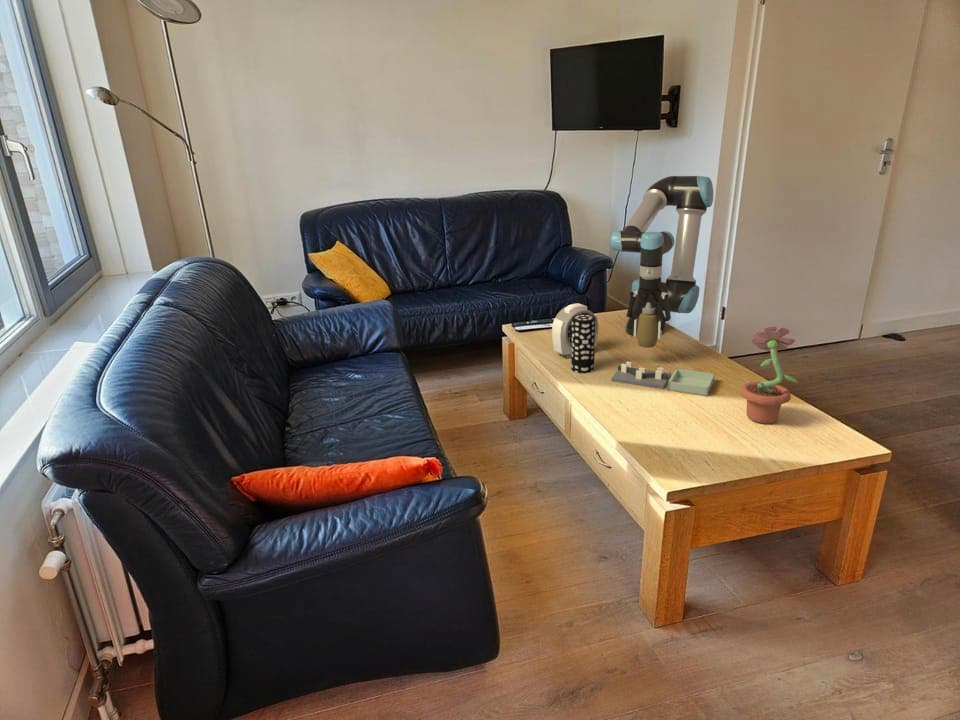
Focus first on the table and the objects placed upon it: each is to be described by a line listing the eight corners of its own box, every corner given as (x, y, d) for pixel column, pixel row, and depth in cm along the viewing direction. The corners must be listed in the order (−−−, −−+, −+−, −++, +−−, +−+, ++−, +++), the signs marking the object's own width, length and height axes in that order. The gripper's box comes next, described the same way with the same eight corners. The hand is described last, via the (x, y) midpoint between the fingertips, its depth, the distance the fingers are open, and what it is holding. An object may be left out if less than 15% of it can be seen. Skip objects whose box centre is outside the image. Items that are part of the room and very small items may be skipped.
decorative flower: (790, 412, 192) (804, 319, 182) (791, 432, 181) (806, 334, 170) (738, 405, 198) (749, 315, 187) (735, 424, 187) (746, 329, 176)
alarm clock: (562, 361, 240) (562, 311, 233) (550, 355, 247) (549, 305, 240) (600, 352, 248) (601, 303, 240) (587, 346, 255) (588, 298, 247)
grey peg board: (620, 369, 231) (621, 359, 229) (670, 376, 222) (671, 365, 221) (611, 381, 221) (611, 370, 219) (663, 389, 213) (664, 378, 211)
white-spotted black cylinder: (598, 368, 232) (599, 316, 225) (585, 375, 227) (586, 322, 220) (579, 363, 238) (580, 312, 231) (566, 369, 232) (567, 318, 225)
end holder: (675, 376, 222) (676, 368, 221) (713, 381, 216) (714, 373, 215) (667, 390, 212) (667, 382, 211) (707, 396, 206) (708, 387, 205)
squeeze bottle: (656, 341, 235) (659, 295, 228) (660, 349, 228) (662, 301, 221) (634, 341, 236) (636, 295, 229) (637, 349, 228) (639, 302, 222)
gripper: (618, 277, 224) (616, 337, 232) (678, 281, 214) (674, 343, 223) (624, 272, 230) (622, 330, 238) (682, 276, 220) (678, 336, 229)
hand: (647, 336), depth 231 cm, fingers closed on squeeze bottle, 8 cm apart
